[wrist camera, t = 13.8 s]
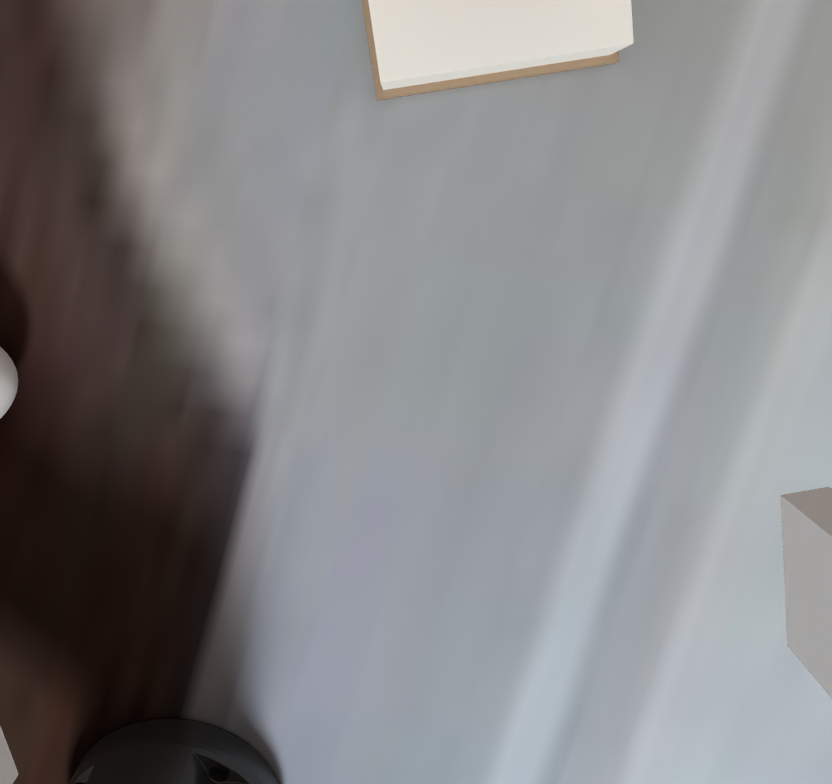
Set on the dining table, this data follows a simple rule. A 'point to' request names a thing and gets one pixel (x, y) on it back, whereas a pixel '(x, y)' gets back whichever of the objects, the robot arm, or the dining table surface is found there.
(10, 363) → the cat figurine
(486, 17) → the plinth
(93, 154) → the dining table surface
